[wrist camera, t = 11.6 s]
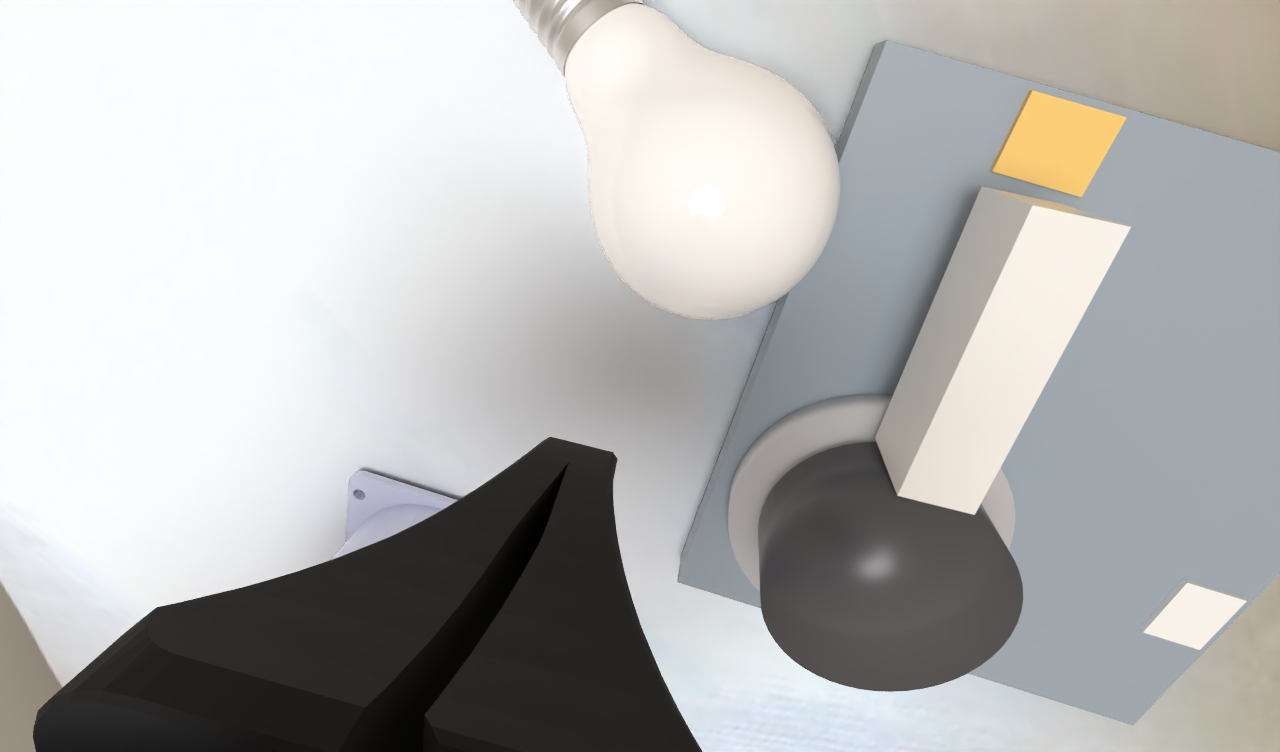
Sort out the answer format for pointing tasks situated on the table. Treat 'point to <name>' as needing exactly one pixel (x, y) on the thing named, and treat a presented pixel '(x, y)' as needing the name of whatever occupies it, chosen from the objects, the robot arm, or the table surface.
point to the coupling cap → (933, 466)
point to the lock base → (1079, 385)
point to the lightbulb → (691, 159)
